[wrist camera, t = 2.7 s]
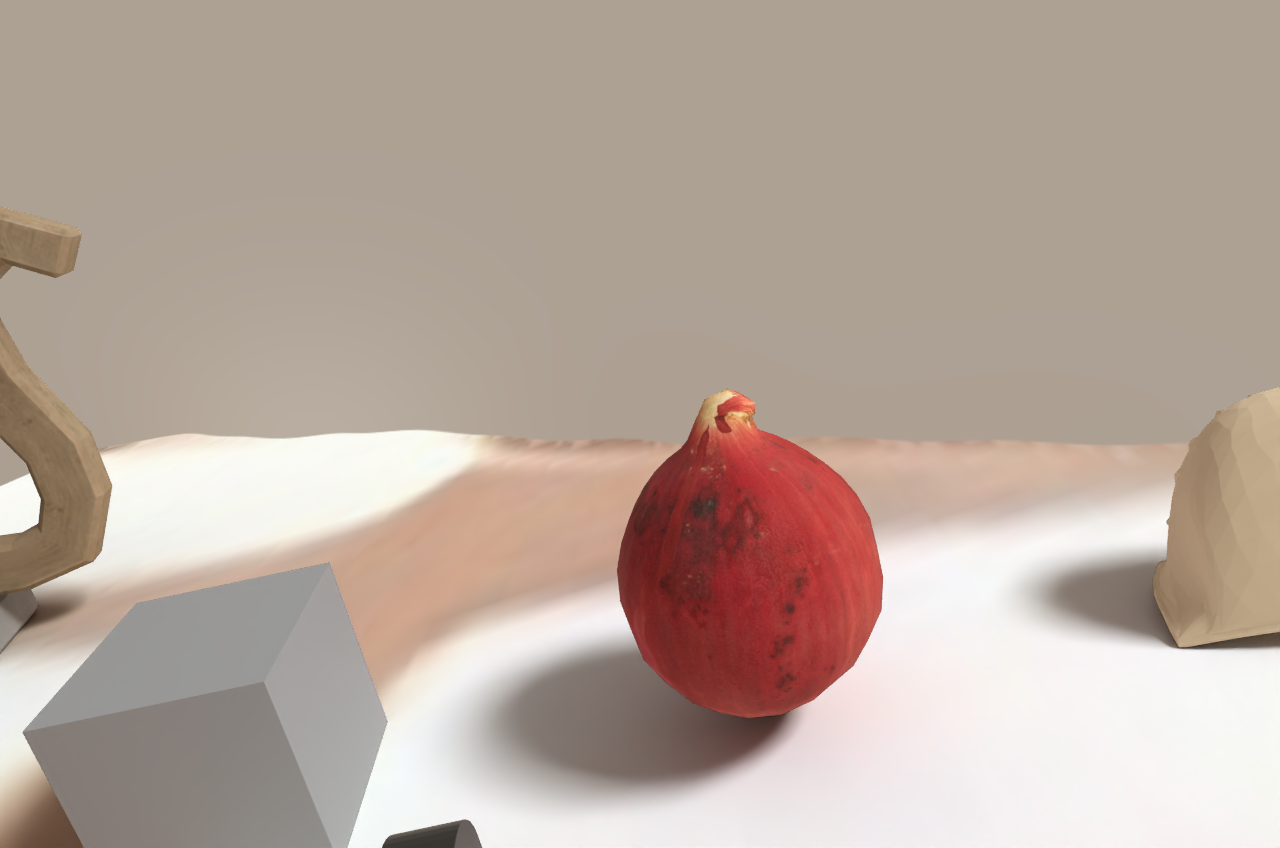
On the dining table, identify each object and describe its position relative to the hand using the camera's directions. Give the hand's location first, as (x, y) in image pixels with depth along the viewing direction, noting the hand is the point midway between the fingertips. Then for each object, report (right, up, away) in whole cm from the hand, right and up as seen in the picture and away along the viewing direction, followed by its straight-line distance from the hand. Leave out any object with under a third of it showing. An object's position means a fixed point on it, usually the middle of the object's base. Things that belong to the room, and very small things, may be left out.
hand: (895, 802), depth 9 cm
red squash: (+1, -3, +13) cm, 14 cm away
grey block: (-12, -6, +14) cm, 19 cm away
